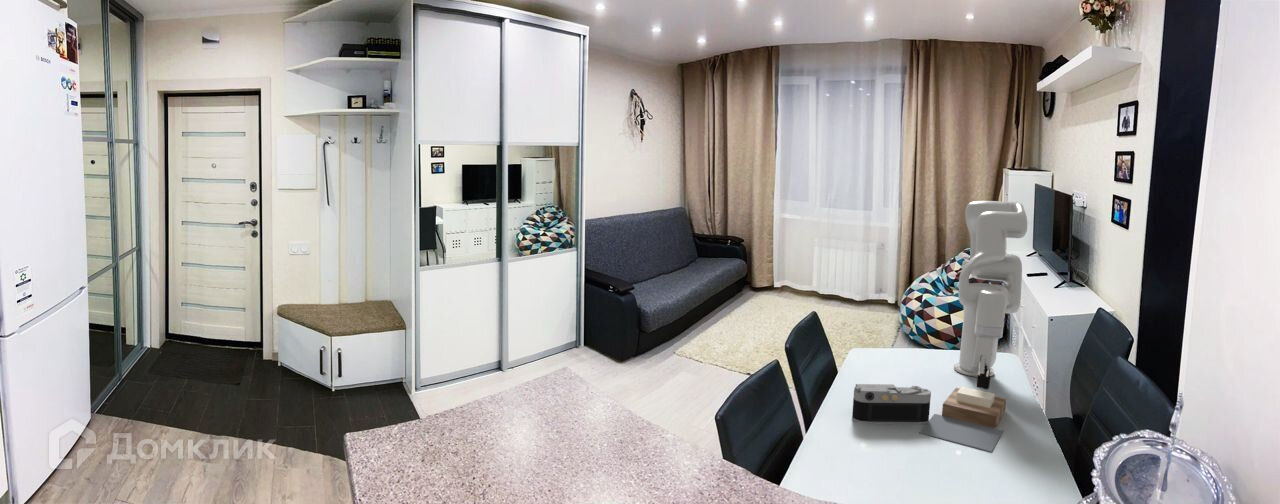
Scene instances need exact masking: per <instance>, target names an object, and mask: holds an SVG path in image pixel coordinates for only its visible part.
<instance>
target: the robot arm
mask: <svg viewBox="0 0 1280 504" xmlns="http://www.w3.org/2000/svg"><path fill="white" fill-rule="evenodd" d="M964 216H965V223H966V226H967V230H968V233H969V236H970V237H969V238H970V252H969V253H970V254H969V260H968V261H966V263H965V264H964V265H963V267H962V269H961V271H960V274H959V278H958V279H959V281H958V295H957V296H958V301H959V303H960V304H961V306H963V318H962V319H963V320H962V331H961V340H960V341H961V342H960V348H959V349H960V350H959V351H960V352H959V360H958V362H956V363H954V365H953V369H954V370H955V372H957V373H959V374H963V375H964V376H965V375H966V376H969V377H975V378H977V383H976V388H978V389H979V388H980V389H984V390H988V389H989V388H990V383H991V377H993V376H994V374H995V371H994V369H993V368H992V367H994V365H995V363H996V360H997V353H998V345H999V343H998V342H999V339H1001V338H1003V333H1004V326H1005V325H1004V323H1005V314H1010V315H1011V314H1016V313H1017V312H1019V310H1020V306H1021V298H1022V281H1023V279H1022V278H1023V263H1022V260H1021V258H1020V257H1019V256H1018V255H1016V254H1013V253H1011V254H1010V253H1006V238H1008V239H1022V238H1024V237H1025V235H1026V233H1027V232H1028V217H1027V214H1026V210H1025V208H1024V205H1023V203H1020V202H1018V201H1017V202H1016V201H1002V200H1001V201H996V200H977V201H976V200H975V201H972V202H969V203H968V204H967V205H966V207H965V213H964ZM970 276H971V277H972V278H974V279H976V280H977V279H978V280H982V281H984V280H985V281H995V282H1003V283H1004V284H994V283H981V282H973V283H971V282H970Z"/></svg>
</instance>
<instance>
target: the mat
mask: <svg viewBox="0 0 1280 504" xmlns="http://www.w3.org/2000/svg"><path fill="white" fill-rule="evenodd" d="M1003 431H1004V430H1003V429H998V428H991V427H987V426H983V425H979V424H975V423H971V422H967V421H962V420H958V419H954V418H950V417H946V416H942V414H937V413H934V414H932V416H931V418H930V419H929V421H928V422H927V424H924V426H923V427H922V429H921V430H920V431H919V432H918V434H920V435H925V436H929V437H932V438H936V439H940V440H943V441H946V442H947V441H948V442H951V443H955V444H959V445H962V446H967V447H969V448H973V449H977V450H980V451H984V452H989V453H992V452H993V450H994V449H995V448H996V445H997V444H998V441H999V439H1000V438H1001V435H1002V434H1003Z"/></svg>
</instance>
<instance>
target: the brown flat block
mask: <svg viewBox="0 0 1280 504" xmlns="http://www.w3.org/2000/svg"><path fill="white" fill-rule="evenodd" d="M960 388H961V387H960ZM960 388H959V387H955V388H954V389H953V390H952V392H951V393H950V395H949V396H948V397H946V399H945V400H944V401H943V403H942V408H941V409H942V410H941V415H942V416H946V417H950V418H954V419H958V420H962V421H967V422H971V423H975V424H979V425H983V426H987V427H991V428H995V429H997V427H998V424H999V423H1000V421H1001V419H1002V417H1003V416H1004V414H1005V412H1006V407H1007V406H1006V405H1007V398H1005V397H1001V396H994V402H993V404H992V406H991V407H990V408H987V407H983V406H978V405H974V404H969V403H965V402H961V401H956V397H957V392H958V391H959V389H960Z"/></svg>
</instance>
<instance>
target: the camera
mask: <svg viewBox="0 0 1280 504" xmlns="http://www.w3.org/2000/svg"><path fill="white" fill-rule="evenodd" d="M931 395H932V392H931V390H929V389H928V388H923V387H921V386H919V385H912V386H911V387H908V386H906V387H904V386H895V384H893V383H892V384H885V383H883V384H881V383H879V384H878V383H873V384H872V383H855V386H854V388H853V400H852V412H851V413H852V415H851V419H852V420H853V421H854V422H856V423H860V424H882V425H883V424H885V425H886V424H889V425H891V424H893V425H894V424H895V425H897V424H898V425H926V424H927V422H928V421H929V420H930V419H929V418H930V410H931V409H930V407H931V397H932V396H931Z"/></svg>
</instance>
